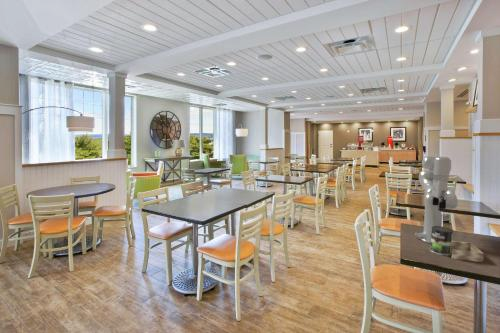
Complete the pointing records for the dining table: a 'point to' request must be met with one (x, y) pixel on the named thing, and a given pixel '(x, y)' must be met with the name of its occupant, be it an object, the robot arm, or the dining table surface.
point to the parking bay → (466, 251)
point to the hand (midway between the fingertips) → (438, 206)
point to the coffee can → (441, 240)
